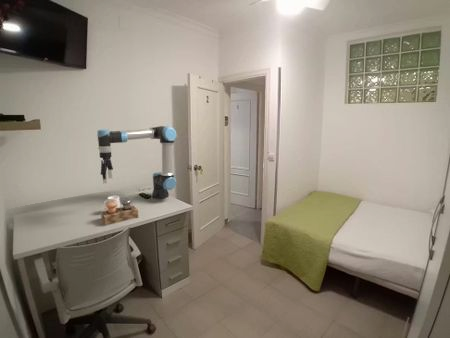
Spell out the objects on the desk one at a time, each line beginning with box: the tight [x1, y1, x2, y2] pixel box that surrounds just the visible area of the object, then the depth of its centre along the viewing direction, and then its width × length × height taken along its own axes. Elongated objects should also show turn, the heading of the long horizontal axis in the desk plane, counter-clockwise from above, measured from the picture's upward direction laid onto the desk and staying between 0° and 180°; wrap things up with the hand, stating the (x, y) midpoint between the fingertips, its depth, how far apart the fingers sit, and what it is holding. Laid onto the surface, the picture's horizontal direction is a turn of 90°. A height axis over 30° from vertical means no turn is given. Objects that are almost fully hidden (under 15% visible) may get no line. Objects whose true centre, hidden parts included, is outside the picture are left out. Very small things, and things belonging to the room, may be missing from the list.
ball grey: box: [120, 198, 132, 211], centre depth 168 cm, size 6×6×8 cm
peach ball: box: [105, 202, 117, 214], centre depth 162 cm, size 6×6×8 cm
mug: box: [102, 195, 121, 210], centre depth 176 cm, size 12×8×12 cm
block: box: [100, 204, 139, 226], centre depth 166 cm, size 22×12×6 cm, turn 129°
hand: (108, 180), depth 168 cm, fingers open, 13 cm apart
